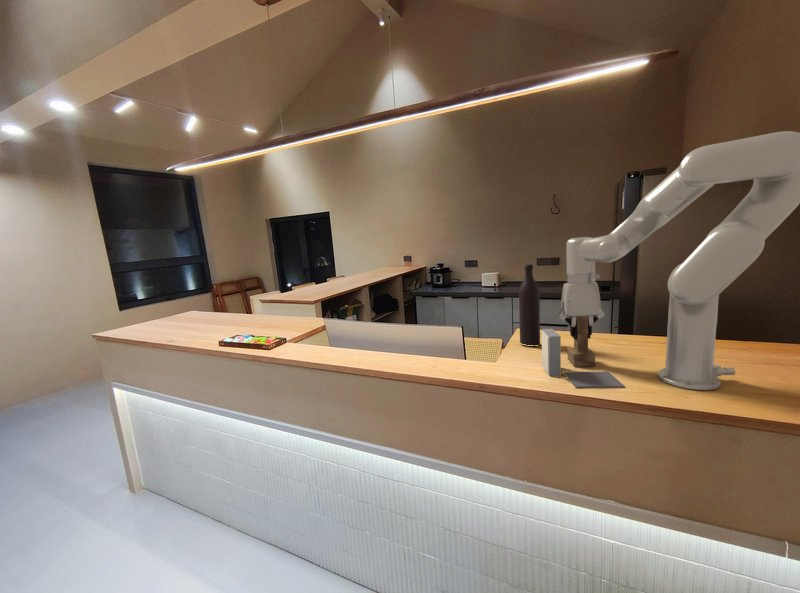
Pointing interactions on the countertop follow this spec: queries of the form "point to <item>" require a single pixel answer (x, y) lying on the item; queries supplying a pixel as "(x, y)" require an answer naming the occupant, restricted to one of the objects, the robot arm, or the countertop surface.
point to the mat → (593, 379)
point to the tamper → (581, 345)
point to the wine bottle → (529, 309)
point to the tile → (551, 352)
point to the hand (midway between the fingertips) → (580, 337)
